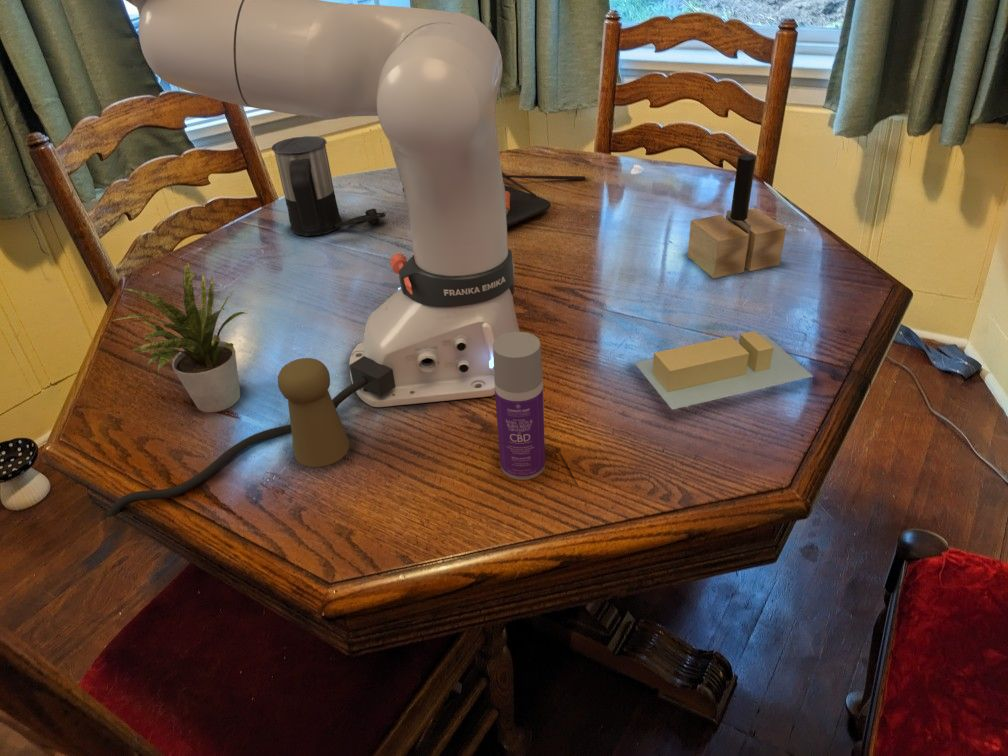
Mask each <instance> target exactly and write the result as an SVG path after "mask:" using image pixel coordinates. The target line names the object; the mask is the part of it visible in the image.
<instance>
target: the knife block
mask: <svg viewBox="0 0 1008 756" xmlns="http://www.w3.org/2000/svg"><path fill="white" fill-rule="evenodd" d="M744 221H746V222H747V223H749V224H750V225H751V228H750V234H747V233H746V232H744V231H743V230H741V229H740V228H739V227H737V226H736V225H734V224H733V223H731V222H730V221H729V220H727V219H726V217H724V216H723V215H721V214H718V215H712V216H706V217H701V218H695V219H691V220H690V227H689V237H688V246H687V257H688V258H689V259H690V260H691V261H692V262H693V263H694V264H695V265H697V266H698V267H699V268H701V269H702V270H703V271H704V272H705V273H706V274H707V275H709V276H710V277H711V278H712V279H718V278H723V277H729V276H734V275H739V274H742V273H744V272H745V269H746V270H748V271H749V272H754V271H758V270H763V269H768V268H774V267H779V266H781V265H780V264H781V259H782V254H783V248H784V244H785V237H786V231H787V228H786V227H785V226H784V225H782V224H781V223H779V222H777V221H776V220H774V219H773V218H771V217H770V216H768V215H767V214H765V213H764V212H762V211H760V210H759V209H757V208H751V209H748V216H747V219H746V220H744ZM747 247H748V248H747Z"/></svg>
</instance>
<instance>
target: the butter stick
mask: <svg viewBox="0 0 1008 756" xmlns="http://www.w3.org/2000/svg"><path fill="white" fill-rule="evenodd" d="M736 340H737V339H735V338H734V337H733V336H732V335H729V336H724V337H720V338H716V339H711V340H707V341H702V342H696V343H692V344H688V345H683V346H679V347H674V348H670V349H664V350H660V351H655V352H653V358H654V361H653V375H654V376H655V377H656V378H657V380H658V381H659V382H660V383H661V384H662V386H663V387H664V388H665V389H666V391H667V392H671V391H675V390H680V389H684V388H688V387H693V386H697V385H702V384H706V383H710V382H715V381H719V380H723V379H728V378H732V377H736V376H741V375H745V374H746V369H747V363H748V357H749V353H748V352H747V351H746V350H745V349H744V348H743V347H742V346H741V345H740V344H739V343H738V342H737V341H736Z"/></svg>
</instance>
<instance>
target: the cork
mask: <svg viewBox="0 0 1008 756" xmlns="http://www.w3.org/2000/svg"><path fill="white" fill-rule="evenodd" d="M277 386H278V390H279V391H280V393H281V395H282V396H283V398H284V399H286V400H287V404H288V413H289V422H290V424H291V431H292V432H291V439H292V448H293V455H294V459H295V461H296V462H297V463H298V464H299V465H302V466H304V467H308V468H322V467H327V466H330V465H332V464H334V463H337V462H339V461H340V460H341V459H342V458H344V457H345V455H346V454H347V453H348V451H349V449H350V447H351V446H350V440H349V438H348V435H347V433H346V430H345V427H344V426H343V423H342V420H341V418H340V415H339V413H338V411H337V408H335V406H334V403H333V401H332V400H333V398H332V396H331V394H330V392H329V388H330V386H331V376H330V371H329V368H328V367H327V366H326V365H325V364H324V363H323V362H322V361H321V360H320V359H317V358H313V357H303V358H298V359H294V360H291V361H290V362H288V363H286V364H285V365H284V366H283V367H281V369H280V371H279V373H278V375H277Z"/></svg>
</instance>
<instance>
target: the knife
mask: <svg viewBox="0 0 1008 756" xmlns="http://www.w3.org/2000/svg"><path fill="white" fill-rule="evenodd" d="M756 162H757V157H756V155H754V154H750V153H748V154H747V153H746V154H739V155H738V156H737V163H736V171H735V178H734V184H733V192H732V200H731V208H730V209H728V210H726V213H725V218H726V219H727V220H729V221H730V222H731V223H733V224H734V225H736V226H737V227H739V228H740V229H741V230H743V231H744V232H746V233H747V234H750V228H751V225H750V224H749V223H747V222H746V221H744V220H746V219H747V216H748V210H750V209H749V207H750V203H751V202H750V201H751V196H752V195H751V194H752V188H753V181H754V174H755V167H756ZM747 248H748V247H747Z"/></svg>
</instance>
